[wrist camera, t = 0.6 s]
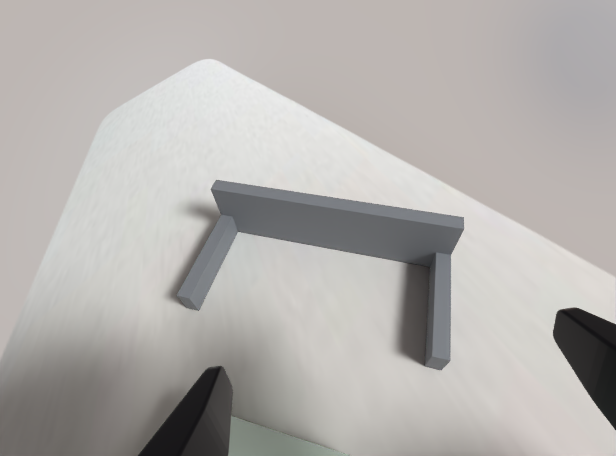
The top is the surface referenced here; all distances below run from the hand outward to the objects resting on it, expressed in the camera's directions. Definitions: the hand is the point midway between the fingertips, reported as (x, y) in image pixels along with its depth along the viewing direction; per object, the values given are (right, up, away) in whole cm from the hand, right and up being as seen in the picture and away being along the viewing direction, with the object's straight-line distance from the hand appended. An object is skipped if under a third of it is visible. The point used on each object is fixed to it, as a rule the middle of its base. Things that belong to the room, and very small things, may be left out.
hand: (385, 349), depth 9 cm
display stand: (-1, -1, +16) cm, 16 cm away
